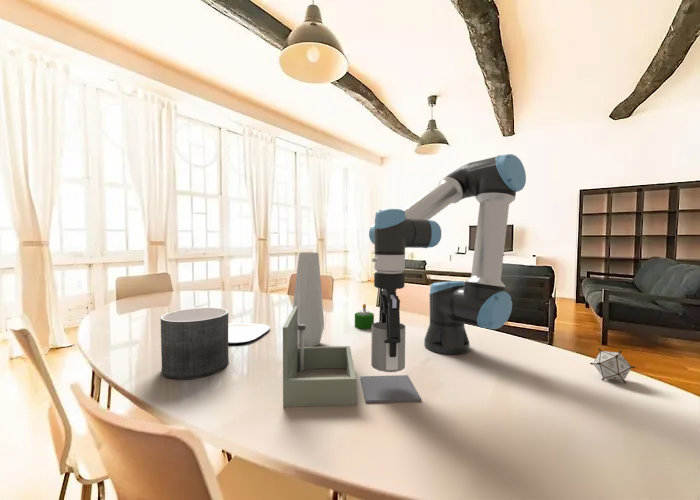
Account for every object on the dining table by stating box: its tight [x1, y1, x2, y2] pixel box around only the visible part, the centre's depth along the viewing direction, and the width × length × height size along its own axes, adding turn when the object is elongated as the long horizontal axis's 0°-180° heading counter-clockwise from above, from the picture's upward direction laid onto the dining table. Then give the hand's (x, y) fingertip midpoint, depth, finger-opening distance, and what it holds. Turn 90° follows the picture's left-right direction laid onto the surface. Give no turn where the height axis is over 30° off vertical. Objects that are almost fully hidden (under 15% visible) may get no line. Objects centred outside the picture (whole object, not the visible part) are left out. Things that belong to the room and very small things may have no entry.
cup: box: [370, 321, 406, 373], centre depth 80 cm, size 8×8×10 cm
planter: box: [160, 307, 230, 380], centre depth 94 cm, size 18×18×16 cm
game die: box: [589, 347, 636, 384], centre depth 86 cm, size 9×8×10 cm
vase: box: [292, 251, 325, 347], centre depth 114 cm, size 12×12×33 cm
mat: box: [359, 374, 422, 404], centre depth 80 cm, size 13×13×1 cm
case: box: [282, 306, 357, 408], centre depth 83 cm, size 16×22×18 cm
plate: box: [228, 322, 271, 345], centre depth 126 cm, size 25×25×2 cm
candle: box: [354, 303, 375, 330], centre depth 138 cm, size 8×8×10 cm
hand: (388, 361), depth 80 cm, fingers closed on cup, 8 cm apart
